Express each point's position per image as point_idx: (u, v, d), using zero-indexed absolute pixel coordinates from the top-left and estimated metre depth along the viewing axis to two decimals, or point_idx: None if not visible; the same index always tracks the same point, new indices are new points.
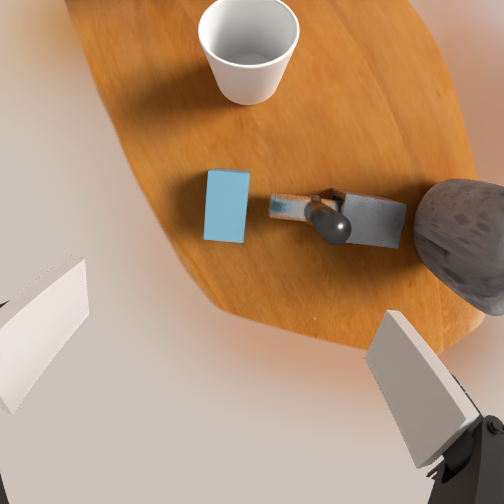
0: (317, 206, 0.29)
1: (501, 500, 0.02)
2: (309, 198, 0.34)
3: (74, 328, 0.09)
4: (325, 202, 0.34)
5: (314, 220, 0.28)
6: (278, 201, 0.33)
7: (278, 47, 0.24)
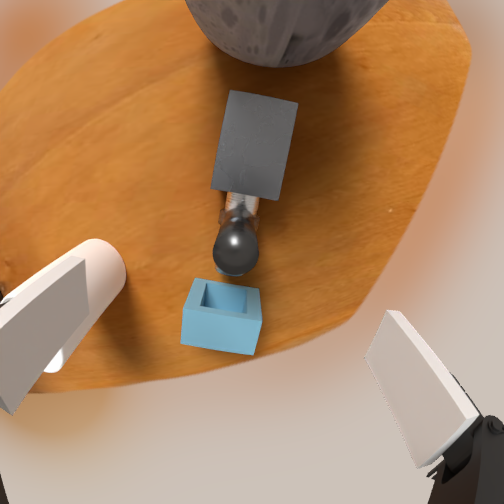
0: None
1: (501, 500, 0.02)
2: None
3: (74, 328, 0.09)
4: (227, 206, 0.26)
5: None
6: None
7: None
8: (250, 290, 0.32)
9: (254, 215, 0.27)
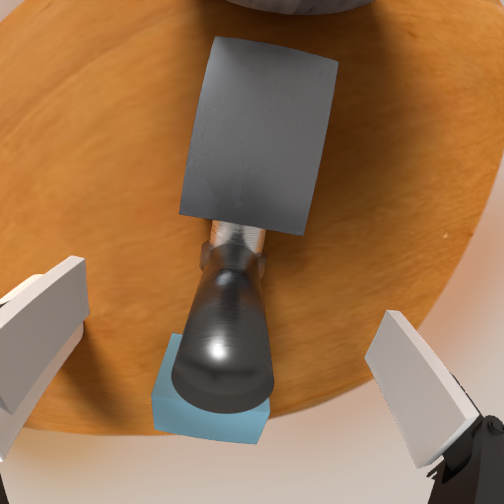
0: None
1: (501, 500, 0.02)
2: None
3: (74, 328, 0.09)
4: (213, 240, 0.16)
5: None
6: None
7: None
8: None
9: (258, 254, 0.16)
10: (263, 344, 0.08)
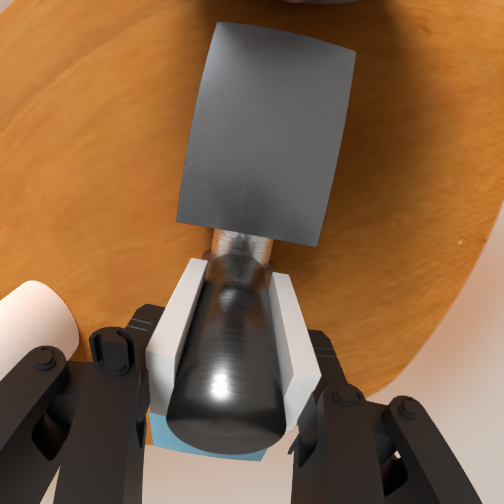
0: None
1: (378, 493, 0.03)
2: None
3: None
4: (215, 250, 0.14)
5: None
6: None
7: None
8: None
9: (265, 265, 0.14)
10: (274, 383, 0.06)
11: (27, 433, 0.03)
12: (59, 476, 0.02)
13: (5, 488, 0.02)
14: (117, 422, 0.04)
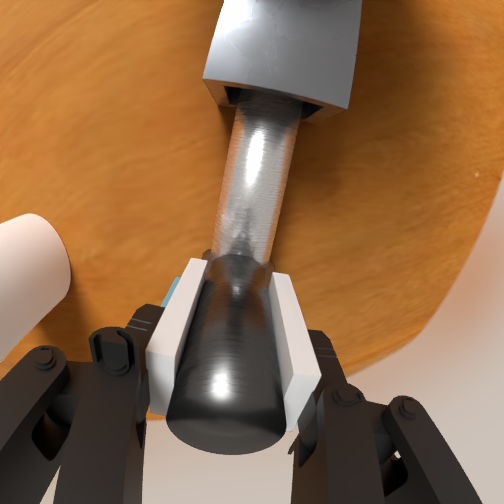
0: None
1: (378, 493, 0.03)
2: None
3: None
4: (215, 250, 0.14)
5: None
6: None
7: None
8: None
9: (265, 265, 0.14)
10: (275, 383, 0.06)
11: (27, 433, 0.03)
12: (58, 476, 0.02)
13: (5, 488, 0.02)
14: (117, 422, 0.04)
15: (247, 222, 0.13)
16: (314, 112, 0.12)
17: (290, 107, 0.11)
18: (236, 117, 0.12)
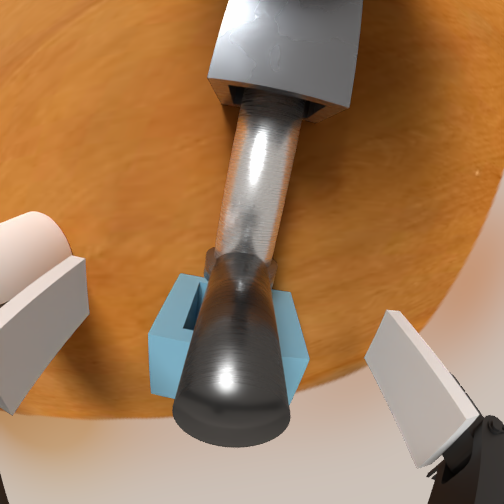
0: None
1: (501, 500, 0.02)
2: None
3: (74, 328, 0.09)
4: (219, 248, 0.14)
5: None
6: None
7: None
8: (277, 295, 0.18)
9: (268, 263, 0.15)
10: (278, 376, 0.07)
11: None
12: None
13: None
14: None
15: (250, 220, 0.13)
16: (316, 111, 0.12)
17: (292, 108, 0.12)
18: (240, 118, 0.12)
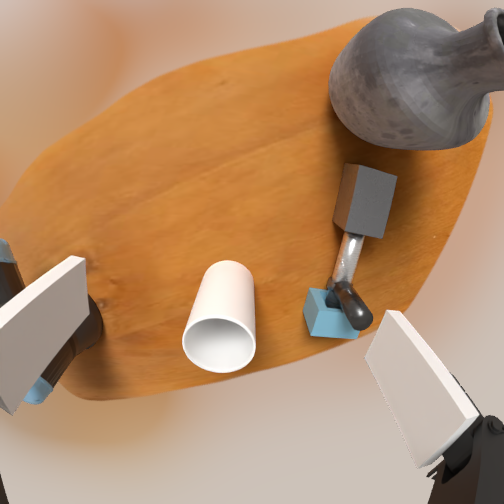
0: (340, 306, 0.37)
1: (501, 500, 0.02)
2: None
3: (74, 328, 0.09)
4: (336, 279, 0.40)
5: None
6: None
7: (211, 284, 0.36)
8: None
9: (350, 283, 0.40)
10: (369, 310, 0.32)
11: None
12: None
13: None
14: None
15: (348, 271, 0.39)
16: None
17: None
18: (346, 236, 0.38)
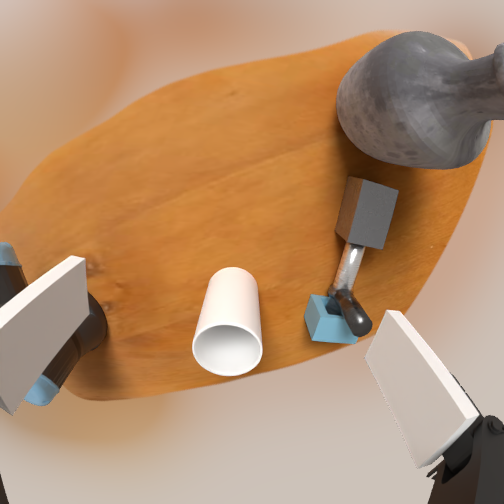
0: (341, 313, 0.38)
1: (501, 500, 0.02)
2: None
3: (74, 328, 0.09)
4: (337, 287, 0.42)
5: None
6: None
7: (218, 291, 0.38)
8: None
9: (351, 291, 0.42)
10: (369, 318, 0.34)
11: None
12: None
13: None
14: None
15: (349, 279, 0.41)
16: None
17: None
18: (348, 246, 0.40)
